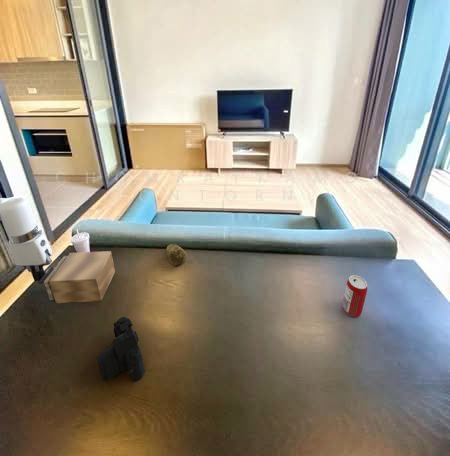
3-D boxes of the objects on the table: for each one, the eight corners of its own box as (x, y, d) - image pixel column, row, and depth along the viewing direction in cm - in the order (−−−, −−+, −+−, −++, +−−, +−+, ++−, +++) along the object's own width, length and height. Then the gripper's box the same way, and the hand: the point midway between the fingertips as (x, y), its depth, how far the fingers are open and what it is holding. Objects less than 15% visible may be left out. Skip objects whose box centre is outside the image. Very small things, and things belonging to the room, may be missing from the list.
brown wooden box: (56, 303, 82) (48, 281, 78) (75, 273, 94) (70, 252, 90) (101, 301, 82) (96, 279, 79) (115, 271, 94) (111, 251, 91)
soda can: (364, 312, 78) (372, 283, 74) (354, 321, 75) (361, 291, 71) (348, 299, 82) (354, 271, 78) (338, 307, 80) (344, 278, 75)
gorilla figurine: (95, 349, 69) (89, 326, 65) (131, 328, 74) (126, 306, 71) (108, 406, 57) (101, 382, 54) (149, 376, 62) (145, 352, 59)
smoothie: (72, 261, 99) (63, 232, 94) (83, 250, 105) (76, 222, 100) (86, 263, 98) (79, 233, 93) (97, 251, 104) (90, 223, 99)
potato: (187, 249, 105) (186, 233, 102) (187, 272, 93) (186, 255, 90) (167, 251, 104) (165, 235, 101) (165, 275, 92) (163, 258, 89)
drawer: (36, 300, 82) (30, 282, 79) (56, 273, 92) (51, 256, 90) (91, 298, 82) (87, 280, 80) (105, 271, 93) (101, 254, 90)
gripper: (55, 225, 83) (68, 268, 90) (8, 227, 82) (25, 270, 89) (40, 240, 76) (56, 285, 83) (-11, 243, 75) (9, 288, 82)
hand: (40, 277), depth 86 cm, fingers closed
